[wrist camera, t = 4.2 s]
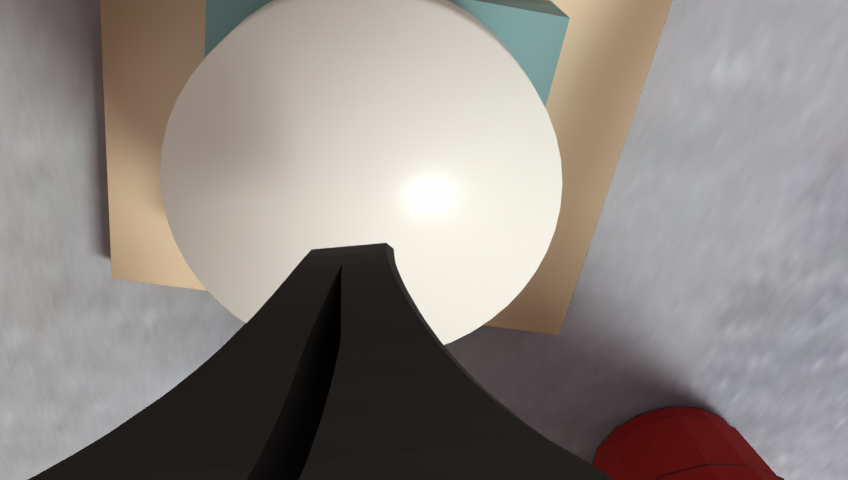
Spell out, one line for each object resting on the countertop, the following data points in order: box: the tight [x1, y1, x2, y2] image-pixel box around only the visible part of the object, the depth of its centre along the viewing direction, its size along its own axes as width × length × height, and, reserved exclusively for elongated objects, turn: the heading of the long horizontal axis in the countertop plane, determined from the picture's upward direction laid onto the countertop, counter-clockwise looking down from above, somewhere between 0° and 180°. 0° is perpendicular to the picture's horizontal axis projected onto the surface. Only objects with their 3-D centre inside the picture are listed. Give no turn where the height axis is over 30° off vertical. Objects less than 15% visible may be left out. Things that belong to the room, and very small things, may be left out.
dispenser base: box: [100, 0, 673, 335], centre depth 18 cm, size 14×12×3 cm
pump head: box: [160, 0, 562, 345], centre depth 16 cm, size 8×8×4 cm
